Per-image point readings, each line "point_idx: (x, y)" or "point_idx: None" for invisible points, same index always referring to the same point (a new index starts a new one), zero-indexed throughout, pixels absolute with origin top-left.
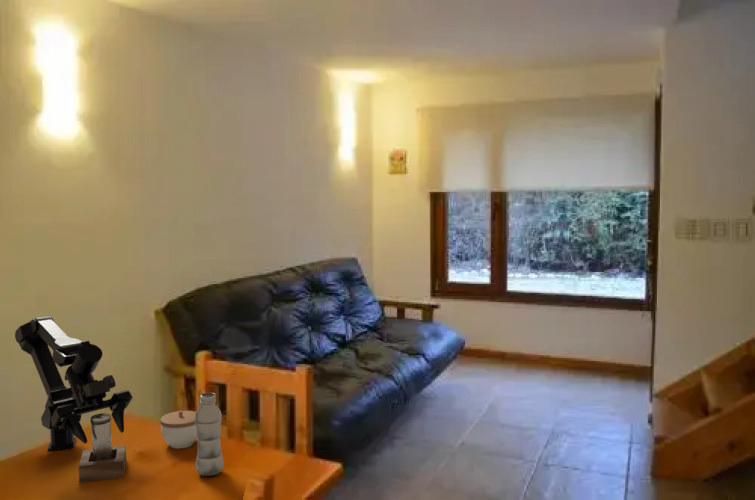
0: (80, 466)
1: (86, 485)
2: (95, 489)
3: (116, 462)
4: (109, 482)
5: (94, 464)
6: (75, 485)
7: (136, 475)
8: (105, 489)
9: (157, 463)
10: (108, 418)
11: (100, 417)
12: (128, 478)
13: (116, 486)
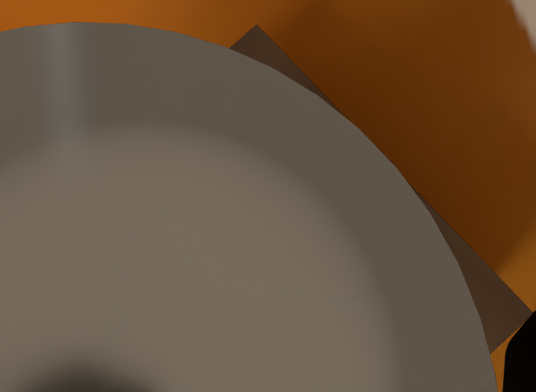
0: (518, 301)
1: (485, 212)
2: (500, 105)
3: (296, 71)
4: (378, 101)
5: (428, 207)
6: (523, 287)
7: (218, 17)
8: (469, 44)
9: (12, 27)
10: (36, 51)
11: (154, 332)
12: (276, 31)
13: (403, 13)
